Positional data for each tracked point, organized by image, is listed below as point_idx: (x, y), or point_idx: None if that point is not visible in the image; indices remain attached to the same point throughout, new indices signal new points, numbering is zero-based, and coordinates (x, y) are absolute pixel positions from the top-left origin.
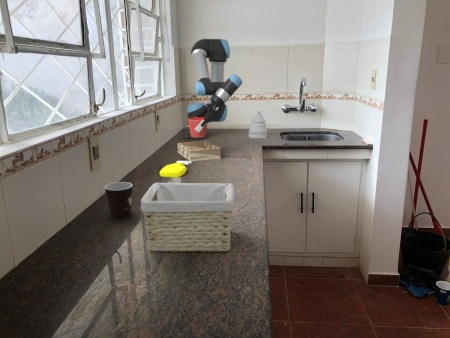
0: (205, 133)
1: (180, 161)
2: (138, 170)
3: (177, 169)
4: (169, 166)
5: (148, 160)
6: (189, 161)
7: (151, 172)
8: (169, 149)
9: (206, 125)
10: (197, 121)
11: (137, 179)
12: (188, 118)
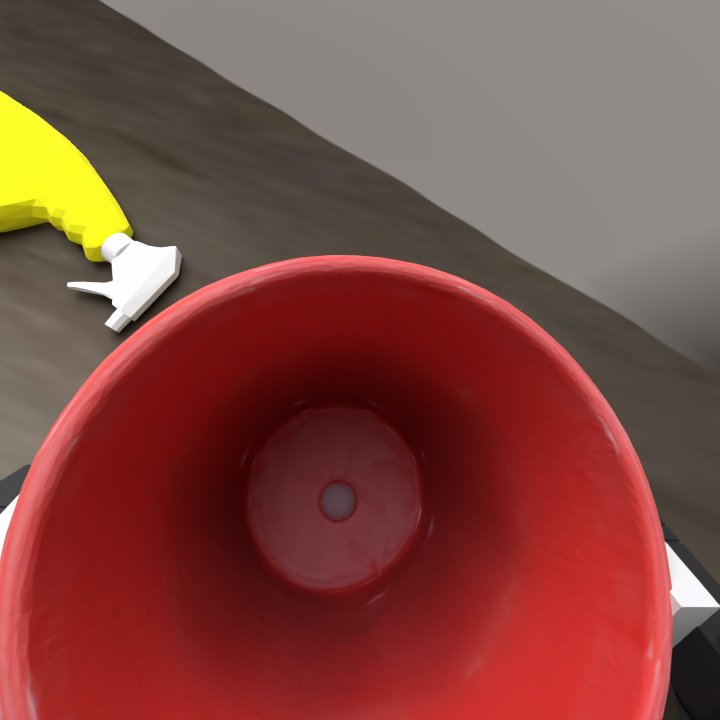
0: (256, 597)
1: (144, 259)
2: (164, 57)
3: None
4: (12, 135)
5: (346, 157)
6: (119, 316)
7: (83, 86)
8: (591, 358)
9: (182, 690)
10: (94, 405)
11: (5, 4)
12: (517, 310)
